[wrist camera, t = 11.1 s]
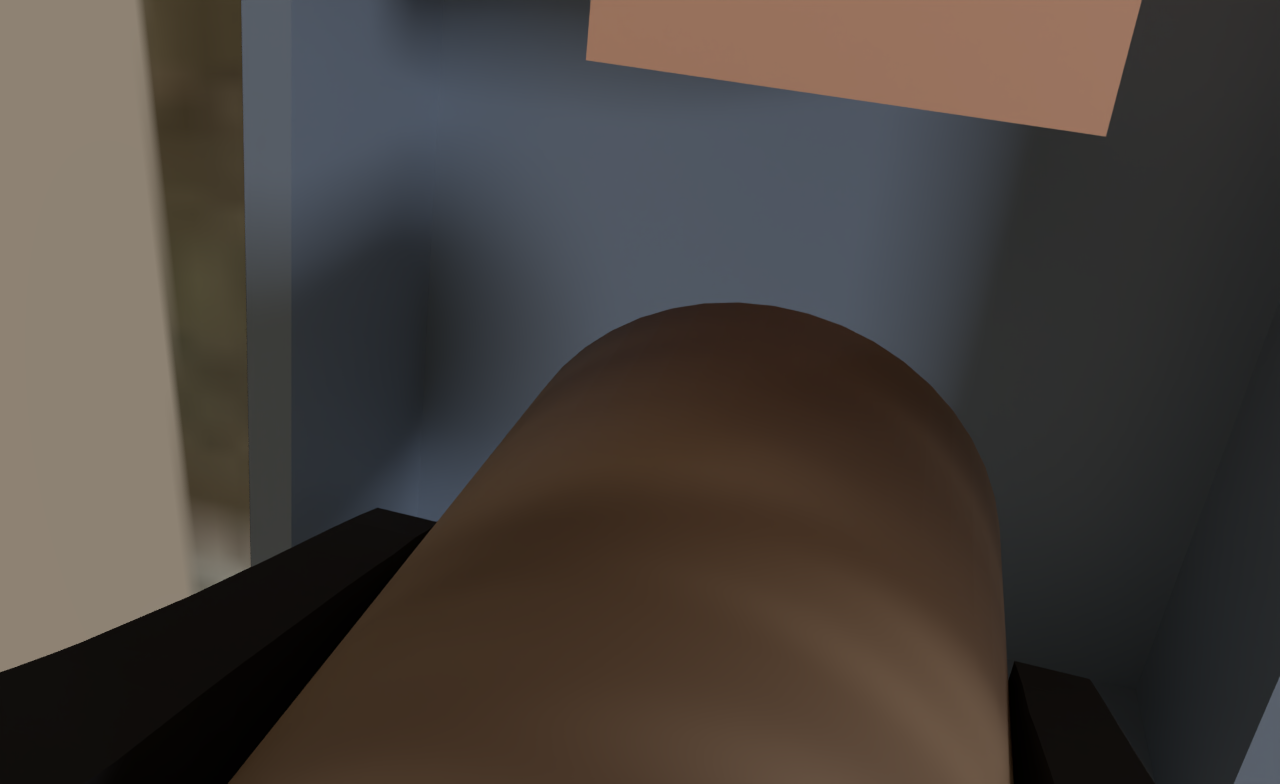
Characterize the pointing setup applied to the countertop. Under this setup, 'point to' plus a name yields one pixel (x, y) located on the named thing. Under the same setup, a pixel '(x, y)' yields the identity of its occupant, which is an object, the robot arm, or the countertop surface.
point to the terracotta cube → (891, 51)
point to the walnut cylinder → (688, 584)
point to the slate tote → (803, 301)
